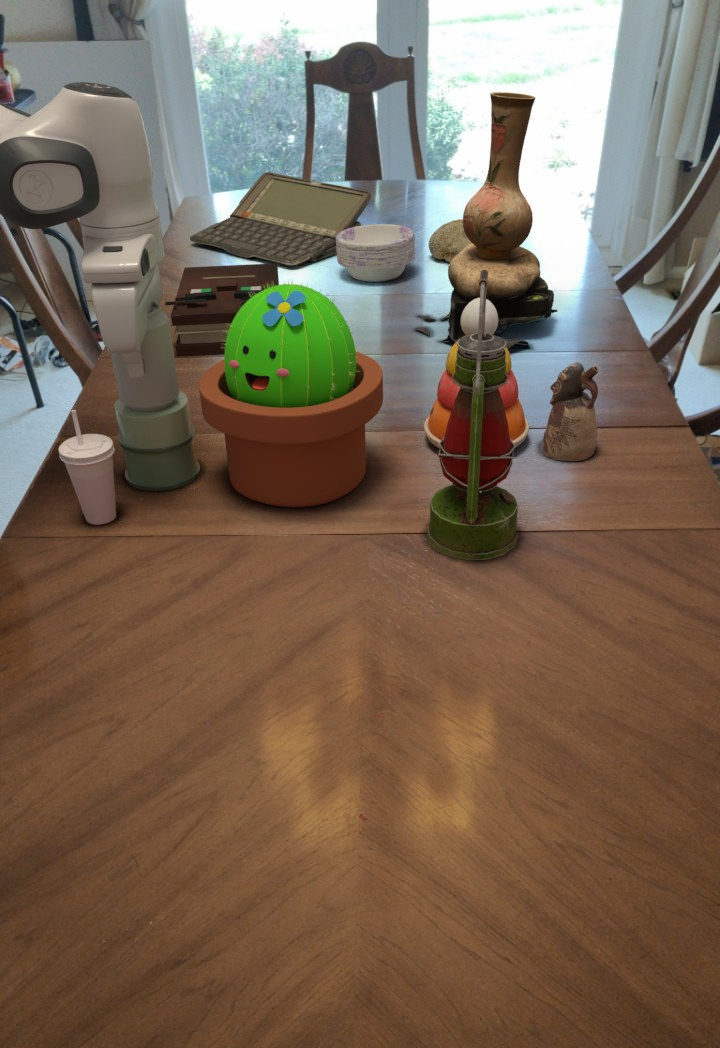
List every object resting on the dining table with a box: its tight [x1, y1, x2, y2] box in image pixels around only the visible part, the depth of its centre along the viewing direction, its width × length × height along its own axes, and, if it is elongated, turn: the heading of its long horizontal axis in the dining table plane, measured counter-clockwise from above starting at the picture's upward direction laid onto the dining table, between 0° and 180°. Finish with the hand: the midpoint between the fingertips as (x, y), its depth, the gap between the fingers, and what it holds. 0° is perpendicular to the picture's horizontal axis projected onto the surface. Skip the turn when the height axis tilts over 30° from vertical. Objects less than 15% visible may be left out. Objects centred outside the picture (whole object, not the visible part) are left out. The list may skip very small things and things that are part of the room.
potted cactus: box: [198, 279, 384, 508], centre depth 120 cm, size 22×22×25 cm
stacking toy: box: [423, 298, 530, 449], centre depth 129 cm, size 14×14×20 cm
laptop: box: [189, 171, 372, 266], centre depth 209 cm, size 26×32×10 cm
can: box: [110, 301, 180, 412], centre depth 120 cm, size 8×8×12 cm
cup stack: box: [113, 390, 201, 492], centre depth 127 cm, size 10×10×10 cm
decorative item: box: [428, 218, 472, 263], centre depth 198 cm, size 12×9×10 cm
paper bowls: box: [336, 223, 416, 283], centre depth 190 cm, size 15×15×8 cm
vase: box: [415, 91, 558, 350], centre depth 158 cm, size 24×22×35 cm
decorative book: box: [164, 262, 280, 357], centre depth 170 cm, size 19×8×30 cm
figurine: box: [541, 361, 599, 462], centre depth 128 cm, size 7×7×12 cm
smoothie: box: [57, 409, 117, 526], centre depth 117 cm, size 6×6×14 cm
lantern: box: [426, 270, 519, 561], centre depth 106 cm, size 14×11×30 cm
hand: (143, 361), depth 120 cm, fingers closed on can, 7 cm apart
